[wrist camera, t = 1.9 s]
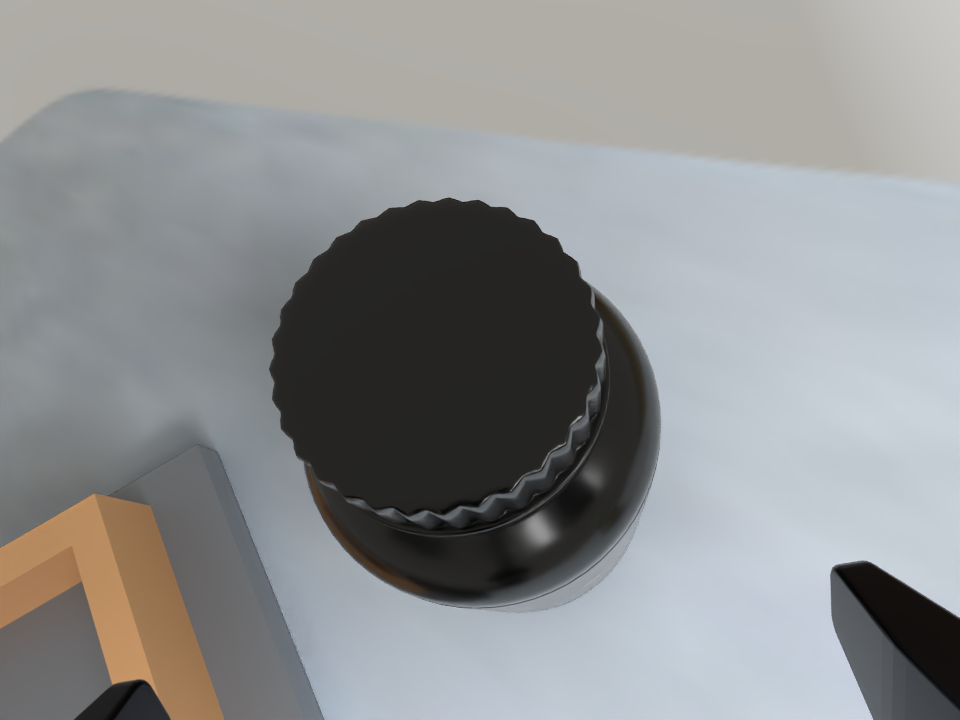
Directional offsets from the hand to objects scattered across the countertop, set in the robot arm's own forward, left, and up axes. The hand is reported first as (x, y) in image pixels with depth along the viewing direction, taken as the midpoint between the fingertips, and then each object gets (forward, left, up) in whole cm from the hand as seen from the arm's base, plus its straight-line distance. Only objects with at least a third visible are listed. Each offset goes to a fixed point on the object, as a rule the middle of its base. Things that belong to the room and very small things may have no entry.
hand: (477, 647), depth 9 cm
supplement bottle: (+4, -1, -11) cm, 12 cm away
